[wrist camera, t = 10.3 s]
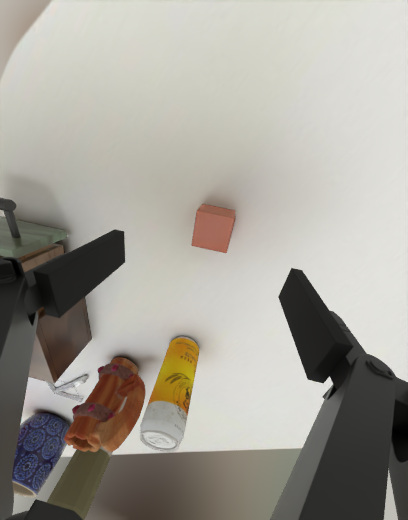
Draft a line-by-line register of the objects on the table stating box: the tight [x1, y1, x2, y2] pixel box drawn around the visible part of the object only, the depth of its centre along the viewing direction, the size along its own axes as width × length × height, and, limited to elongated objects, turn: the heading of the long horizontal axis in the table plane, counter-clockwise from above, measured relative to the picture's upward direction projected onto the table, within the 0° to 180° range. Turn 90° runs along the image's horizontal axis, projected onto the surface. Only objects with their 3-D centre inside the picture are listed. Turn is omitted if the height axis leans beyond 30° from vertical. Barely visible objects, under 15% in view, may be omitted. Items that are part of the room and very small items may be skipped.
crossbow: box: [46, 376, 88, 402], centre depth 50 cm, size 16×13×2 cm
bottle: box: [47, 397, 127, 520], centre depth 34 cm, size 7×7×30 cm
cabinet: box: [28, 297, 91, 383], centre depth 33 cm, size 15×13×10 cm
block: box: [192, 204, 235, 253], centre depth 24 cm, size 4×4×4 cm
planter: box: [12, 413, 69, 497], centre depth 57 cm, size 17×17×15 cm
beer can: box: [140, 336, 199, 452], centre depth 31 cm, size 6×6×15 cm
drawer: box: [0, 198, 67, 316], centre depth 27 cm, size 18×11×8 cm, turn 170°
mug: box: [64, 357, 145, 452], centre depth 36 cm, size 15×8×15 cm, turn 117°
